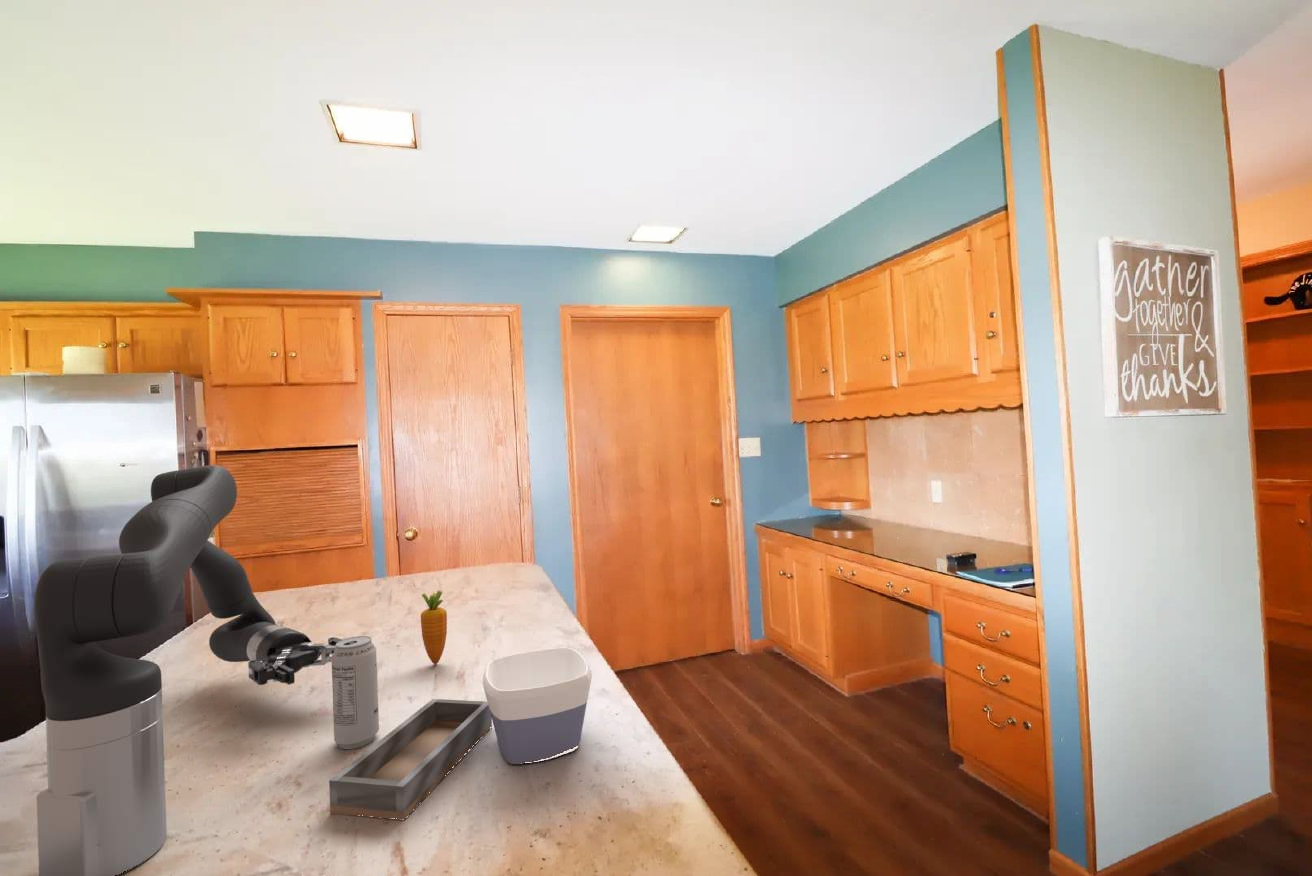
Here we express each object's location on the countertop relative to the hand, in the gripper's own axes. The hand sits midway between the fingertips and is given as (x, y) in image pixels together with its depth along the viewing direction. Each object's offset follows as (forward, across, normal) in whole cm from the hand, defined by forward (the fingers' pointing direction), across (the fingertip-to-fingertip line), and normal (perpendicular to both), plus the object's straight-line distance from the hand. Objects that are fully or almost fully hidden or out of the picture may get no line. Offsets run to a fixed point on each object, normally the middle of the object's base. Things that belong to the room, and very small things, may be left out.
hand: (321, 668), depth 93 cm
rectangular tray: (+26, +1, +8) cm, 27 cm away
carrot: (-6, +24, +9) cm, 26 cm away
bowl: (+36, +14, +9) cm, 40 cm away
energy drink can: (+11, 0, +9) cm, 14 cm away
